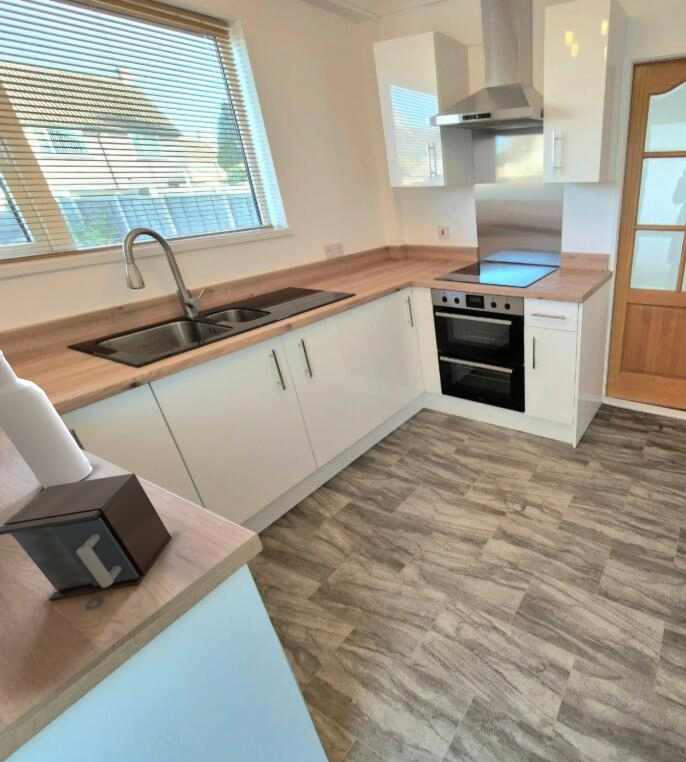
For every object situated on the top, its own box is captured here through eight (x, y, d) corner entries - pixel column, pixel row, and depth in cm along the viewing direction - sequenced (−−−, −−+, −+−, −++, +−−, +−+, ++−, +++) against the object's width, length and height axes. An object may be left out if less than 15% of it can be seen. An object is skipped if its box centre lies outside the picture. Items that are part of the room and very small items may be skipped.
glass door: (78, 606, 61) (30, 545, 56) (95, 584, 65) (52, 525, 59) (124, 597, 62) (82, 537, 57) (139, 576, 65) (100, 517, 60)
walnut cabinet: (50, 601, 63) (-7, 532, 57) (94, 551, 72) (48, 486, 66) (139, 584, 65) (93, 515, 59) (171, 537, 74) (134, 472, 67)
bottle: (53, 494, 86) (-43, 359, 73) (36, 485, 90) (-59, 353, 76) (100, 471, 93) (20, 342, 79) (82, 463, 96) (2, 338, 83)
